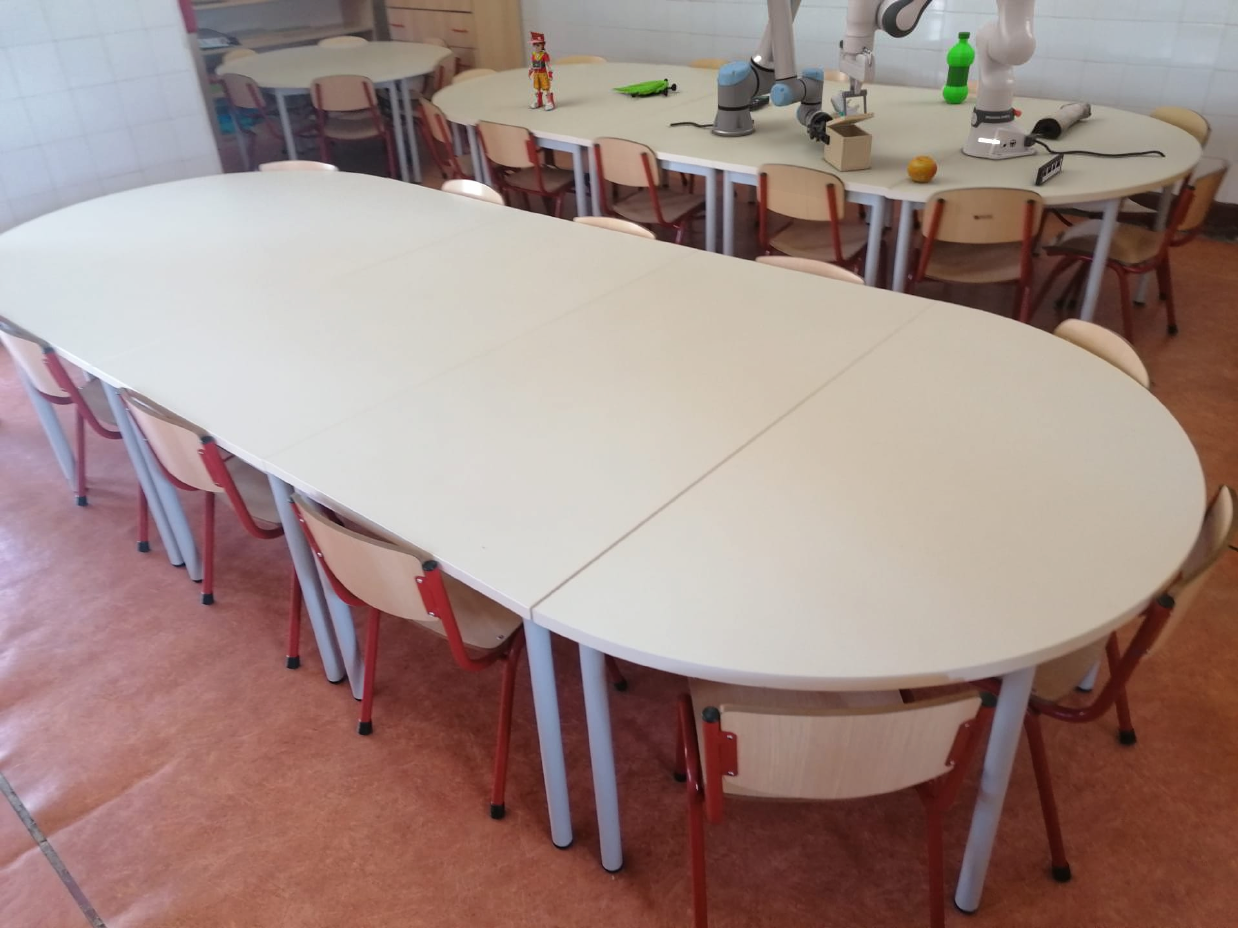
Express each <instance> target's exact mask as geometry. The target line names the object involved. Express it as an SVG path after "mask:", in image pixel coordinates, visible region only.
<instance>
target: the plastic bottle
mask: <svg viewBox="0 0 1238 928" xmlns="http://www.w3.org/2000/svg"><path fill="white" fill-rule="evenodd" d="M970 36H971V32H970V31H959V32H958V36H957V39H958V42H957V43H956V44H954V45H953V46H952V47H951V48H950V49H949V50H948V52H947V54H946V63H947V64H948V69H947V70H948V71H947V76H946V77H947V78H946V84H945V85H944V87H943V90H942V97H943V99H944V100H945V101H946V102H947V103H948V104H960V103H961V102H963V101H964V100H966V98H967V96H968V95H969V85H968V79H969V73H970V67H971V65H972V64H973V63H974V61H975V57H976V51H975V49H974V47H972V45H971V44H970V43H969V42H968V41H969V39H970V38H971V37H970Z"/></svg>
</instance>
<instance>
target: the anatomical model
mask: <svg viewBox="0 0 1238 928" xmlns="http://www.w3.org/2000/svg"><path fill="white" fill-rule="evenodd" d="M843 91H844V90H842V89H841V90H839V93H837V95H833V96H831V97H830V103H831V106H832V107H833V110H834V111H835V112H836V113H839V114H840V115H841V117H842V116H844V106H843V98H842V92H843ZM851 101H852V98H847V99H846V111H847V115H856V114H858V110H859V108H860V106H861V104H856V105H854V106H850V105H849V104H850V102H851Z"/></svg>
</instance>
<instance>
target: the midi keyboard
mask: <svg viewBox="0 0 1238 928" xmlns="http://www.w3.org/2000/svg"><path fill="white" fill-rule="evenodd" d="M1064 157H1065V154H1057V155H1056V156H1055V157H1052V159H1051V160H1049V161H1047V162H1045V164H1042V165H1041V166H1039V167H1038V169H1037V175H1036V179H1035V186H1040V185H1042V183H1044V182H1045V181H1047V180H1048V179H1049V178H1051V177H1052V176H1054V175H1055V174H1056V173H1058V172H1060V171H1061V170H1062V165H1063V161H1064Z"/></svg>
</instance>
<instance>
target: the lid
mask: <svg viewBox="0 0 1238 928" xmlns="http://www.w3.org/2000/svg"><path fill="white" fill-rule="evenodd" d="M842 91H843V92H842V98H843V106H844V116H842V115H841V116H840V117H837V118H833V120H832V121H829V122H826V127H827V126H836V125H846V124H855V125H856V124H857V123H860V122H864V121H866V120H870V119H872V118H875V112H868V110H867V109H868V108H867V106H868V105H867V96H868V89H867V88H864V89H861V92H860V94H855V93H854V92H853V91H854V90H853V91H849V90H842ZM859 97H863V98H862V99H863V113H857V114H856V115H847V111H846V100H847V99H852V98H859Z"/></svg>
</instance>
